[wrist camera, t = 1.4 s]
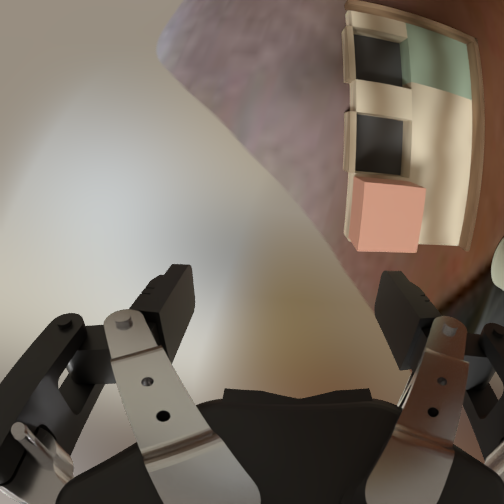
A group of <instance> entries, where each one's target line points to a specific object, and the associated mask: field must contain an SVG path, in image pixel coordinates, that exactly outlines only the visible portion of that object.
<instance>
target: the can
mask: <svg viewBox="0 0 504 504" xmlns="http://www.w3.org/2000/svg"><path fill="white" fill-rule="evenodd" d="M491 276H492V280H493V282H494V284H495V285H496V286H497V287H500V288H501V289H502V290H503V291H504V237H503V239H502V240H501V241H500V243H499V245H498V247H497V249H496V251H495V253H494V256H493V260H492V265H491Z"/></svg>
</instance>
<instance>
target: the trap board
mask: <svg viewBox="0 0 504 504" xmlns="http://www.w3.org/2000/svg"><path fill="white" fill-rule="evenodd" d="M345 10H348V11H347V13H346V14H345V17H346V27H345V28H344V30H343V31H342V33H341V36H342V51H343V73H344V83H349V84H350V111H349V112H346V113H344V153H343V170H344V171H346V172H348V188H347V202H346V214H345V225H344V235H345V236H346V238H347V239H348V241H350V239H349V238H348V237H349V227H350V217H351V206H352V193H353V178H354V176H358V177H370V178H380V179H390V180H400V181H408V182H412V183H414V184H417V185H419V186H422V187H424V188H426V196H425V204H424V211H423V218H422V224H421V230H420V236H419V242H418V244H433V245H456V246H459V247H461V248H462V249H463V250H465V251H469V250H470V245H471V241H472V236H473V231H474V226H475V221H476V216H477V210H478V203H479V196H480V189H481V180H482V170H483V157H484V132H485V116H484V91H483V79H482V69H481V61H480V54H479V47H478V42H477V39H476V38H474V37H472V36H470V35H467V34H465V33H463V32H461V31H458V30H456V29H454V28H451V27H449V26H446V25H444V24H441V23H439V22H436V21H433V20H430V19H427V18H424V17H421V16H418V15H415V14H412V13H409V12H405V11H402V10H398V9H395V8H391V7H387V6H383V5H378V4H374V3H369V2H364V1H359V0H347V2H346V3H345Z"/></svg>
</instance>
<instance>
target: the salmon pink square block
mask: <svg viewBox="0 0 504 504" xmlns="http://www.w3.org/2000/svg"><path fill="white" fill-rule="evenodd" d="M425 196H426V188H424V187H422V186H419V185H417V184H414V183H412V182H408V181H400V180H390V179H380V178H370V177H358V176H354V178H353V193H352V206H351V217H350V227H349V237H348V238H349V239H350V241H351V242H352V244H353V245H354V247H355V248H356V250H357V251H371V252H409V253H416V252H417V247H418V242H419V236H420V230H421V224H422V218H423V211H424V204H425Z"/></svg>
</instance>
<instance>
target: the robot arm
mask: <svg viewBox="0 0 504 504" xmlns="http://www.w3.org/2000/svg"><path fill="white" fill-rule="evenodd" d="M192 275H193V274H192V268H191V266H190V265H183V264H172V265H171V266H170V268H169V269H168V270H167V272H166V273H165V274H164V275H159V276H157V277H156V278H154V279H152V280H151V281H150V282H149V284H148V285H147V286H146V288H145V289H144V290H143V291H142V294H140V295H139V296H138V298H137V299H136V300H135V302H134V303H133V304H132V306H131V307H130V308H129V309H126V310H120V311H116V312H114V313H112V314H111V315H109V316H108V317H107V318H106V319H105V321H104V325H95V326H85V324H84V321H83V318H82V317H81V316H80V315H79V314H75V313H68V314H63V315H61V316H59V317H57V318H55V319H54V320H53V321H52V322H51V323H50V324H49V325H48V326H47V327H46V328H45V330H44V331H43V332H42V333H41V334H40V335H39V336H38V337H37V339H36V340H35V341H34V342H33V343H32V344H31V346H30V347H29V348H28V349H27V351H26V352H25V353H24V354H23V355H22V357H21V358H20V359H19V360H18V362H17V363H16V364H15V365H14V367H13V368H12V369H11V370H10V372H9V373H8V374H7V376H6V377H5V378H4V380H3V381H2V382H1V384H0V491H2V492H3V493H4V494H6V495H7V496H9V497H10V498H12V499H13V500H15V501H18V502H19V503H21V504H504V391H503V394H502V396H501V398H500V399H499V401H498V399H497V397H496V395H495V393H494V391H493V389H492V388H491V386H490V384H489V381H490V380H491V378H492V377H493V375H494V373H495V372H497V374H498V375H499V377H500V378H501V380H502V382H503V385H504V327H503V326H501V325H498V324H495V323H488V324H486V325H485V326H484V328H483V330H482V332H481V335H479V334H471V333H467V330H466V328H465V326H464V325H463V324H462V323H461V322H460V321H458V320H456V319H454V318H452V317H448V316H442V315H441V314H440V313H439V312H438V310H437V309H436V308H435V306H434V305H433V304H432V303H431V302H430V300H429V299H428V297H427V296H425V294H424V292H423V291H422V290H421V289H420V288H419V287H418V286H416V285H415V284H413V283H412V282H410V281H409V280H408V279H407V278H406V276H405V275H404V274H403V273H402V272H401V271H384V272H383V273H382V275H381V280H380V284H379V289H378V293H377V298H376V302H375V317H376V319H377V321H378V323H379V325H380V328H381V330H382V332H383V334H384V336H385V338H386V340H387V342H388V345H389V347H390V349H391V351H392V354H393V356H394V358H395V360H396V363H397V365H398V367H399V370H408V369H412V373H411V376H410V377H409V380H408V382H407V384H406V387H405V390H404V392H403V394H402V396H401V398H400V400H399V403H398V405H394V404H392V403H389V402H386V401H383V400H378V399H372V397H371V393H370V390H369V388H368V389H355V390H340V391H333V392H329V393H325V394H320V395H317V396H312V397H307V398H302V399H296V398H291V397H287V396H281V395H277V394H273V393H268V392H264V391H254V390H238V389H225V390H224V395H223V399H217V400H212V401H208V402H204V403H201V404H198V405H195V403H194V402H193V400H192V399H191V397H190V395H189V394H188V392H187V390H186V388H185V387H184V385H183V383H182V382H181V380H180V378H179V376H178V375H177V373H176V371H175V369H174V368H173V366H172V362H173V360H174V357H175V355H176V353H177V350H178V348H179V346H180V343H181V341H182V338H183V336H184V333H185V331H186V329H187V326H188V324H189V322H190V319H191V317H192V315H193V313H194V308H195V295H194V285H193V276H192ZM65 368H67V370H68V372H69V374H68V376H67V377H66V379H65V380H64V382H63V383H62V385H61V387H60V388H59V389H58V380H59V377H60V375H61V374H62V372H63V371H64V369H65ZM112 383H117V387H118V390H119V393H120V396H121V399H122V403H123V405H124V409H125V411H126V414H127V417H128V420H129V423H130V425H131V428H132V431H133V433H134V436H135V439H136V441H137V442H136V443H134V444H133V445H131V446H130V447H128V448H126V449H124V450H123V451H122V452H119V453H118V454H116V455H115V456H113V457H111V458H109V459H107V460H106V461H104V462H102V463H100V464H98V465H97V466H95V467H93V468H91V469H89V470H87V471H85V472H84V473H81V474H80V475H78V476H76V477H74V475H73V471H74V464H73V461H72V459H71V457H70V455H71V453H72V451H73V449H74V447H75V444H76V442H77V440H78V438H79V436H80V434H81V431H82V429H83V427H84V425H85V423H86V421H87V419H88V417H89V414H90V412H91V410H92V409H93V406H94V404H95V403H96V401H97V399H98V396H99V394H100V392H101V391H102V389H103V387H104V385H105V384H112ZM462 405H463V407H464V409H465V411H466V413H467V416H468V418H469V420H470V423H471V425H472V428H473V430H474V433H475V435H476V438H477V441H478V443H479V446H480V449H481V452H482V454H483V457H484V460H485V464H483V463H481V462H480V461H478V460H477V459H475V458H474V457H472V456H471V455H469V454H467V453H466V452H464V451H463V450H462V449H460V448H458V447H457V446H456V445H454V444H453V442H454V439H455V435H456V431H457V427H458V423H459V419H460V415H461V410H462Z"/></svg>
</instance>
